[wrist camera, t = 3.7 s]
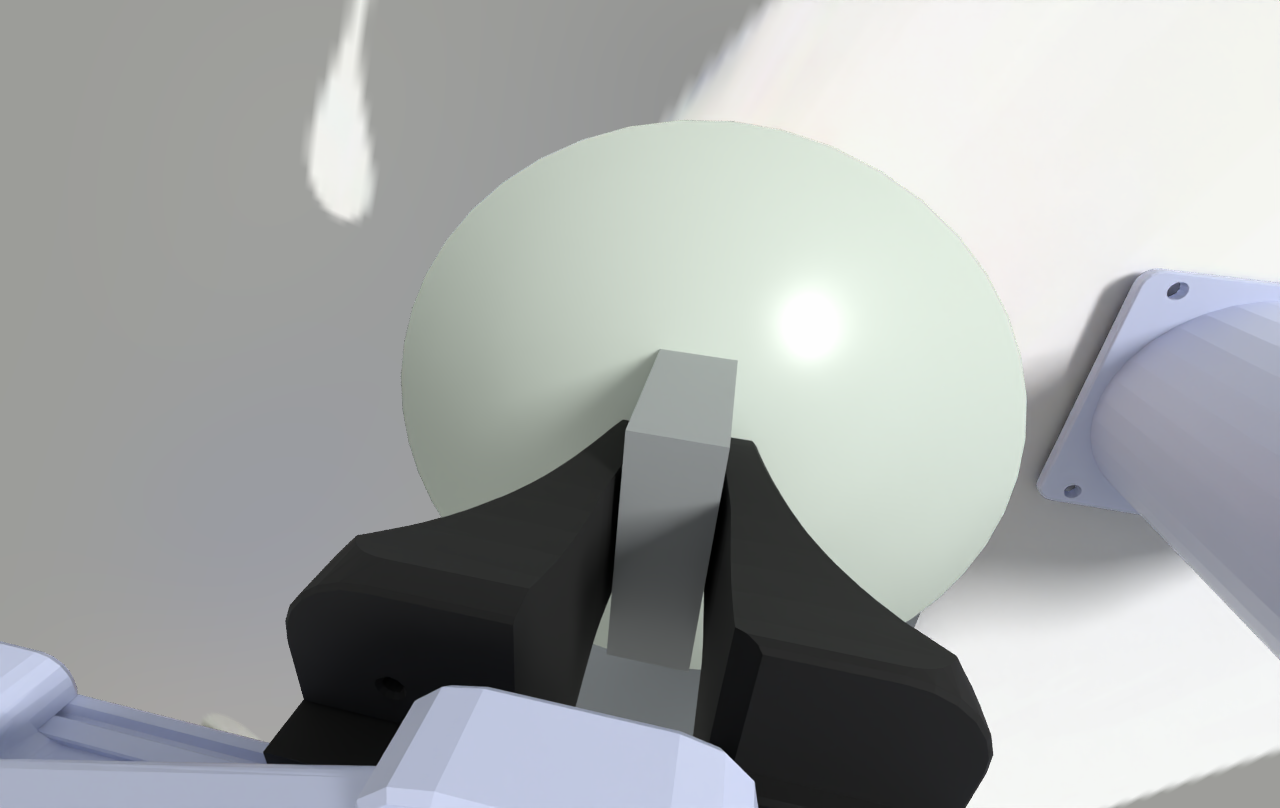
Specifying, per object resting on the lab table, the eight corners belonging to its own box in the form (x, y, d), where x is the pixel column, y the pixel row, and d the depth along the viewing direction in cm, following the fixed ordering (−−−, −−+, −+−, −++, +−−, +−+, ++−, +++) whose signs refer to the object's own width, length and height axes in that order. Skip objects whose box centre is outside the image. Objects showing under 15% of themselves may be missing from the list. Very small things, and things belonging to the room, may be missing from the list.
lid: (1144, 161, 10) (1379, 189, 6) (903, 698, 16) (945, 870, 12) (383, 87, 11) (205, 73, 8) (436, 598, 17) (352, 723, 14)
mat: (918, 600, 24) (921, 609, 23) (840, 786, 30) (841, 796, 29) (541, 528, 26) (537, 536, 25) (539, 716, 31) (536, 725, 31)
